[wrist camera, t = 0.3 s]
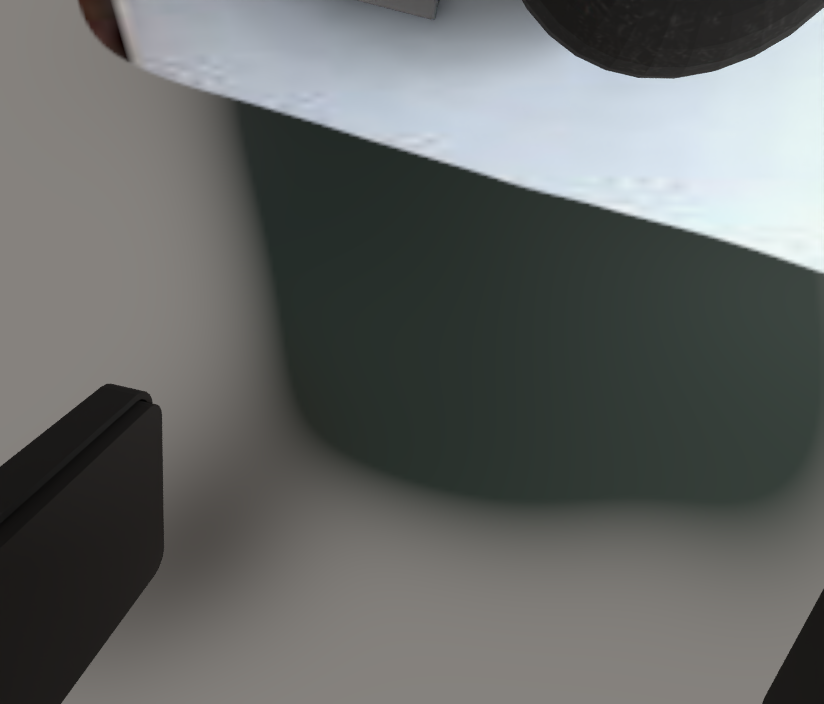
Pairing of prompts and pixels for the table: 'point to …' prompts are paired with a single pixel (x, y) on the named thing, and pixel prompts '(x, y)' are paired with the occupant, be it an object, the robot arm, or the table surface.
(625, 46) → the black stone ball
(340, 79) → the table surface
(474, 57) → the table surface
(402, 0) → the pintle board
